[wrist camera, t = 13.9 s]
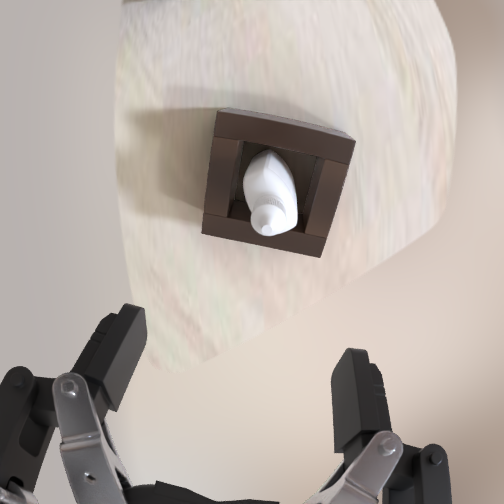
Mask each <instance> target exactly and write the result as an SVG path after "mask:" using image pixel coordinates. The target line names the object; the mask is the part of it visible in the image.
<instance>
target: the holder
mask: <svg viewBox="0 0 504 504" xmlns="http://www.w3.org/2000/svg"><path fill="white" fill-rule="evenodd" d="M244 141H246V142H252V143H257V144H262V145H267V146H272V147H277V148H282V149H287V150H291V151H296V152H300V153H304V154H309V155H313V156H317V159H316V163H315V167H314V171H313V175H312V179H311V183H310V187H309V190H308V194H307V198H306V202H305V205H304V209H303V213H302V214H300V213H297V224H296V226H295V227H294V228H292V229H290V230H288V231H286V232H283V233H281V234H276V235H274V236H273V235H272V236H264V235H261V234H259V233H258V232H257V231H255V229H254V228H253V227H252V224H251V214H252V212H251V210H250V209H249V206H248V204H247V202H243V201H238V200H234V199H235V193H236V187H237V181H238V175H239V169H240V163H241V157H242V151H243V146H244ZM355 143H356V141H355V140H354V139H353V138H351V137H350V136H349V135H348V134H346V133H344V132H341V131H337V130H333V129H330V128H326V127H322V126H318V125H314V124H310V123H306V122H301V121H297V120H293V119H288V118H283V117H278V116H273V115H268V114H263V113H258V112H252V111H246V110H240V109H233V108H225V109H222V110H219V111H217V115H216V121H215V128H214V136H213V141H212V148H211V156H210V163H209V171H208V179H207V187H206V195H205V204H204V213H203V222H202V232H201V234H206V235H211V236H216V237H221V238H226V239H231V240H235V241H240V242H245V243H250V244H255V245H260V246H265V247H270V248H274V249H279V250H284V251H289V252H294V253H299V254H303V255H308V256H313V257H318V258H320V257H321V254H322V252H323V249H324V246H325V243H326V240H327V236H328V233H329V230H330V227H331V224H332V221H333V218H334V215H335V212H336V209H337V205H338V202H339V199H340V196H341V192H342V189H343V186H344V182H345V179H346V176H347V172H348V169H349V164H350V161H351V158H352V154H353V151H354V147H355Z"/></svg>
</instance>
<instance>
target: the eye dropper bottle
mask: <svg viewBox="0 0 504 504" xmlns="http://www.w3.org/2000/svg"><path fill="white" fill-rule="evenodd" d="M243 188H244V194H245V198H246V201H247V204H248V206H249V209H250V210H251V212H252V214H251V224H252V227H253V228H254V229H255V231H257V232H258V233H259V234H261V235H264V236H272V235H273V236H274V235H276V234H281V233H283V232H286V231H288V230H290V229H292V228H294V227H295V226H296V224H297V199H296V188H295V182H294V178H293V175H292V173H291V171H290V169H289V167H288V166H287V164H286V163H285V161H284V160H283V159H282V158H281V157H280V156H279V155H278V154H277V153H275V152H274V151H273V150H270V149H269V150H265V151H263V152H261V153H259V154H257V155H255V156H254V157H253V158H252V160H251V162H250V164H249V166H248V169H247V171H246V173H245V176H244V179H243Z"/></svg>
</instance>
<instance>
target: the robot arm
mask: <svg viewBox="0 0 504 504" xmlns="http://www.w3.org/2000/svg"><path fill="white" fill-rule="evenodd" d="M146 341H147V327H146V318H145V310H144V308H142V307H138V306H135V305H131V304H127V303H126V304H124V305H123V307H122V308H121V310H120V312H119V313H118V314H114V313H110V314H109V315H108V316H106V317H105V318H103V319H102V320H101V321H100V323H99V325H98V326H97V328H96V330H95V332H94V333H93V334H92V336H91V338H90V340H89V341H88V343H87V344H86V346H85V348H84V349H83V351H82V353H81V355H80V356H79V358H78V360H77V362H76V363H75V365H74V367H73V368H72V370H71V371H70V372H69V373H64V374H62V375H60V376H59V377H57V378H44V377H36V376H33V374H32V373H31V371H30V370H29V369H28V368H26V367H23V366H17V367H14V368H12V369H10V370H9V371H8V372H7V374H6V375H5V377H4V379H3V381H2V382H1V384H0V504H39V503H38V500H37V499H36V497H35V496H34V495H33V491H34V488H35V485H36V481H37V478H38V475H39V472H40V469H41V466H42V463H43V460H44V457H45V454H46V451H47V448H48V446H49V443H50V440H51V438H52V435H53V432H54V430H55V427H59V429H60V433H61V437H62V443H60V453H61V457H62V460H63V464H64V467H65V471H66V474H67V477H68V480H69V483H70V486H71V489H72V492H73V494H74V497H75V500H76V502H77V504H279V502H274V501H262V500H252V499H247V500H236V501H223V502H222V501H221V502H218V501H214V500H211V499H209V498H206V497H204V496H202V495H199V494H197V493H195V492H193V491H191V490H189V489H187V488H182V487H179V486H175V485H171V484H167V483H164V482H160V481H156V483H155V485H153V484H150V485H149V484H147V485H138V486H133V485H132V483H131V481H130V478H129V476H128V474H127V472H126V469H125V467H124V466H123V464H122V462H121V460H120V458H119V455H118V453H117V450H116V448H115V445H114V442H113V440H112V437H111V434H110V431H109V428H108V425H107V423H106V419H105V416H106V413H107V411H108V409H110V410H112V411H115V412H117V410H118V408H119V405H120V403H121V400H122V398H123V396H124V393H125V391H126V388H127V386H128V384H129V382H130V379H131V377H132V375H133V372H134V370H135V368H136V366H137V363H138V361H139V359H140V356H141V354H142V352H143V350H144V348H145V345H146ZM383 386H384V383H383V378H382V374H381V372H380V371H379V369H378V368H377V366H376V365H375V364H372V363H369V358H368V353H367V351H366V350H363V349H354V348H347V349H346V350H345V352H344V354H343V355H342V357H341V359H340V360H339V362H338V364H337V365H336V367H335V368H334V371H333V373H332V377H331V392H332V406H333V426H334V453H344V460H342V462H341V463H340V464H339V465H338V467H337V468H336V469H335V470H334V472H333V473H332V474H331V475H330V476H329V478H328V479H327V480H326V481H325V483H324V484H323V485H322V486H321V487H320V488H319V489H318V490H317V492H316V493H315V494H314V495H312V496H311V497H310V498H309V499H308V500H306V501H305V502H304V503H303V504H378V502H379V500H378V499H377V496H378V494H379V492H380V491H381V489H382V488H383V498H382V504H452V498H451V497H452V496H451V484H450V475H449V466H448V459H447V454H446V452H445V450H444V449H443V448H442V447H441V446H439V445H437V444H429V445H427V446H426V447H424V448H423V449H421V448H417V447H413V446H410V445H406V444H404V443H402V441H401V439H400V438H399V436H398V435H396V434H395V433H393V431H392V428H391V422H390V416H389V410H388V404H387V399H386V397H385V394H386V393H385V389H384V387H383Z"/></svg>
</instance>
